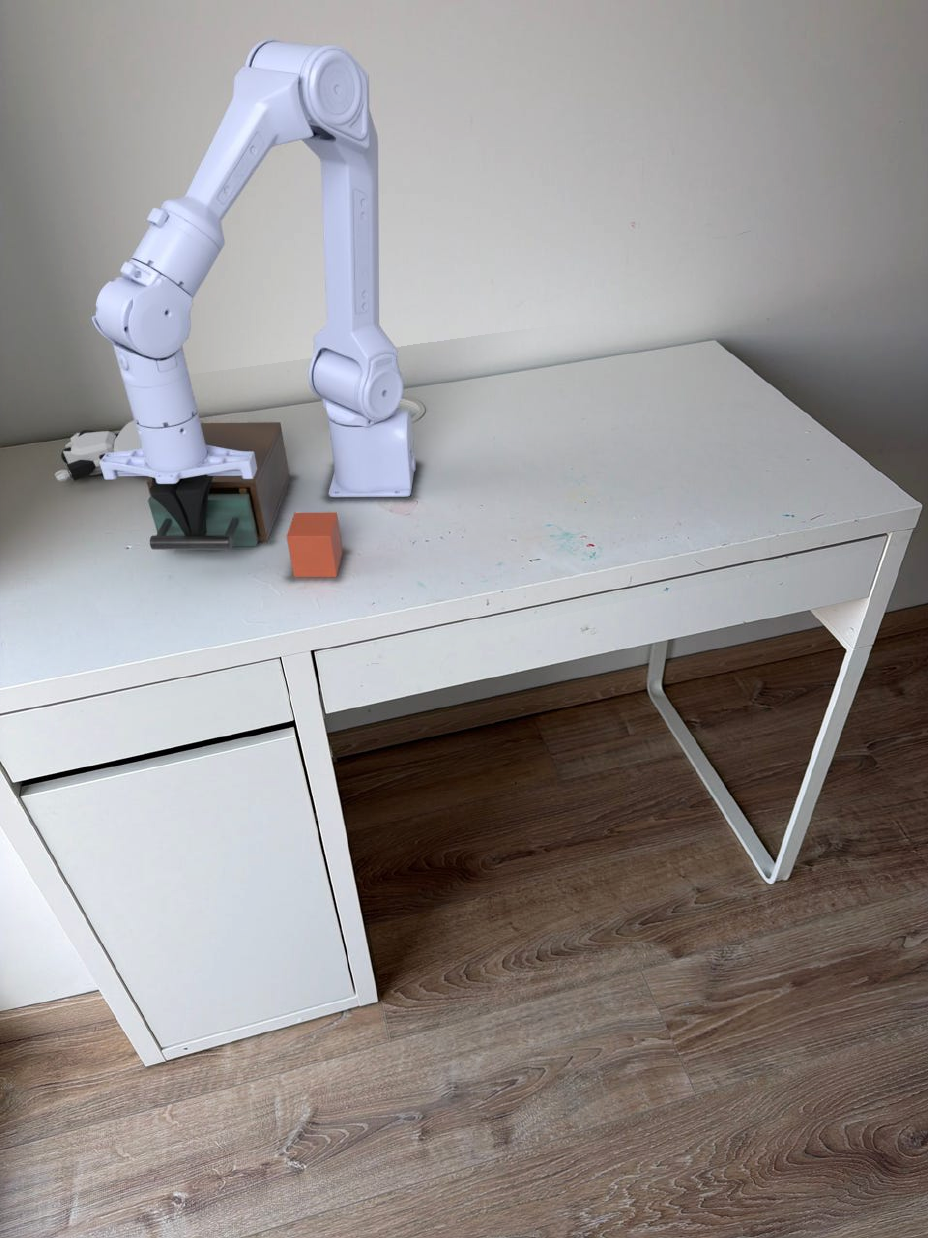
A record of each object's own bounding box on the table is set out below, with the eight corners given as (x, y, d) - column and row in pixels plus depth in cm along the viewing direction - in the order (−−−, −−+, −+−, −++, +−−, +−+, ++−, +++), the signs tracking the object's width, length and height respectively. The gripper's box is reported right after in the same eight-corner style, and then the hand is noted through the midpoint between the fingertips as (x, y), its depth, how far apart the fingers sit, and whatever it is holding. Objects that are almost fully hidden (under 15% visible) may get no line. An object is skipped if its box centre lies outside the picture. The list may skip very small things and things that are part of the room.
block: (342, 552, 93) (337, 512, 90) (336, 577, 90) (330, 536, 87) (301, 552, 93) (294, 512, 90) (294, 577, 90) (286, 536, 87)
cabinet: (267, 541, 95) (255, 481, 91) (163, 541, 96) (146, 482, 91) (290, 478, 106) (280, 421, 101) (196, 479, 106) (182, 422, 101)
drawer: (246, 572, 89) (235, 525, 86) (147, 572, 90) (132, 525, 86) (279, 485, 103) (271, 441, 99) (192, 486, 103) (181, 442, 100)
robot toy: (60, 503, 104) (187, 482, 105) (44, 469, 101) (175, 448, 102) (80, 453, 114) (196, 435, 114) (66, 421, 111) (185, 402, 111)
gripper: (72, 435, 79) (114, 559, 87) (233, 433, 78) (259, 559, 87) (100, 400, 84) (137, 520, 93) (250, 399, 84) (274, 520, 92)
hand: (197, 537), depth 90 cm, fingers closed
